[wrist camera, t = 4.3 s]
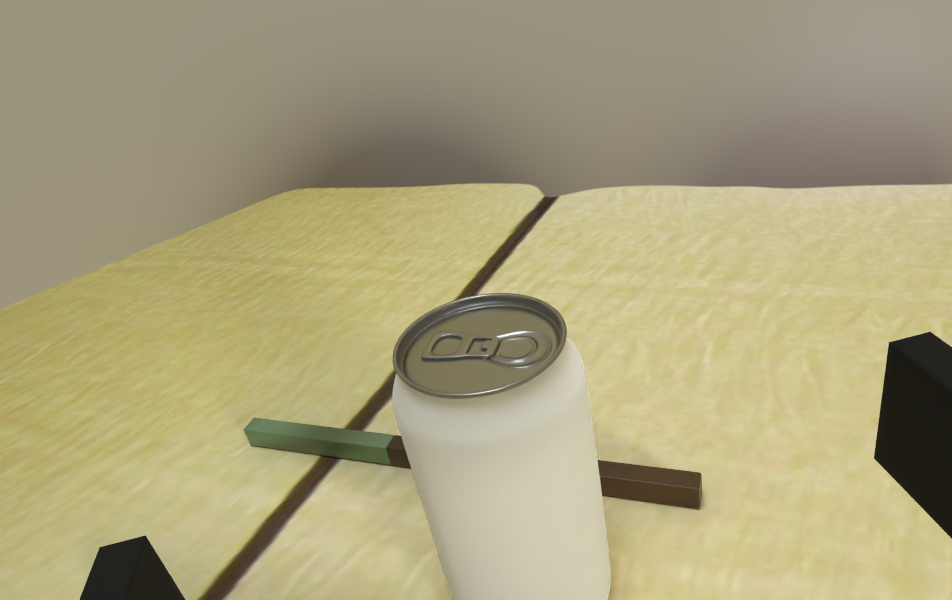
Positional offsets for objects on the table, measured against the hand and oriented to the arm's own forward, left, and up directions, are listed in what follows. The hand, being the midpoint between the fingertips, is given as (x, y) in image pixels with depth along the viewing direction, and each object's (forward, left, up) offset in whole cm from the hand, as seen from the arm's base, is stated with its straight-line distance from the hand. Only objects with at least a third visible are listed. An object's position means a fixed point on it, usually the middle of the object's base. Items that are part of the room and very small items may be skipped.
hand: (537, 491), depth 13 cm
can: (-5, +8, -15) cm, 18 cm away
